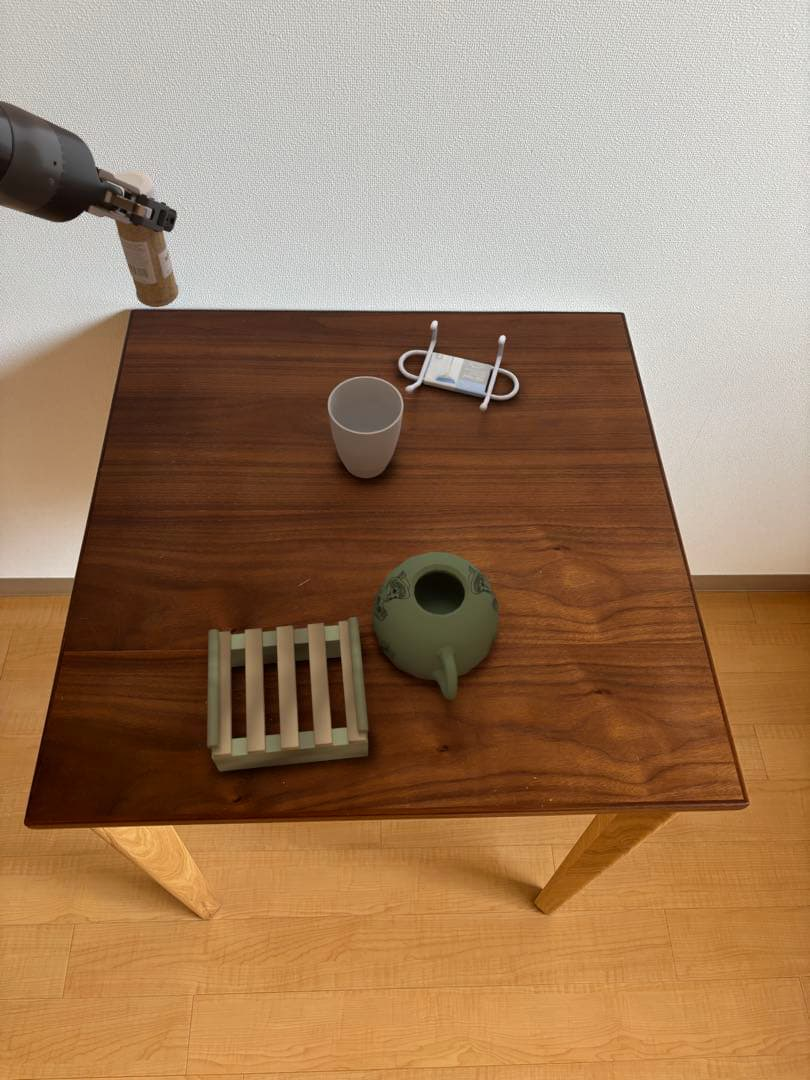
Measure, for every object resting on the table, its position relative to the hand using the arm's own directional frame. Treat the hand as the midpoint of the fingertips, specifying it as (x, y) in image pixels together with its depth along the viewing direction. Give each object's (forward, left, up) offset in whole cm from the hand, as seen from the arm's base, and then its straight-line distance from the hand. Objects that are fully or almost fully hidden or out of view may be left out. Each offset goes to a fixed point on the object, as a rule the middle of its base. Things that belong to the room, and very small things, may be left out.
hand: (150, 211), depth 81 cm
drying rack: (+10, -44, -24) cm, 51 cm away
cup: (+20, -15, -24) cm, 35 cm away
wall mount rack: (+32, -5, -24) cm, 41 cm away
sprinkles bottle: (-1, -2, -9) cm, 9 cm away
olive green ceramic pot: (+25, -39, -24) cm, 52 cm away
